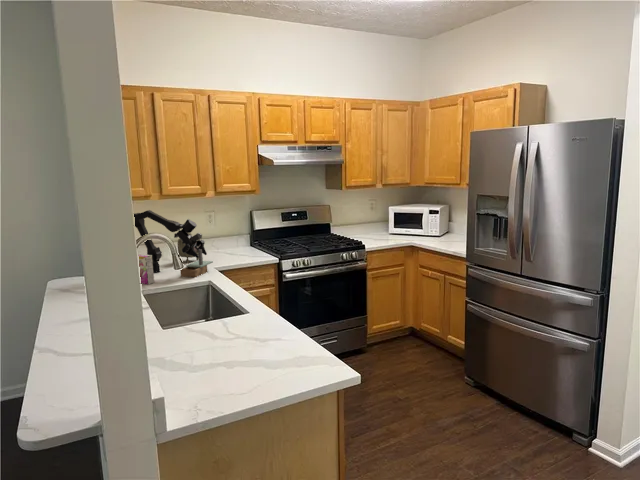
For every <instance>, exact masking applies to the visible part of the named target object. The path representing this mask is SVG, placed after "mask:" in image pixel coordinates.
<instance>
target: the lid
mask: <svg viewBox="0 0 640 480" xmlns="http://www.w3.org/2000/svg"><path fill="white" fill-rule="evenodd" d="M198 256H199V259H198V260H196V261H194V262H192V263H188V264H187V265H185V266H186V267H203V266H206V265H207V266H208V265H210V264H213V263H214V262H213V261H214V260H213V261H212V260H204V257H203V253H202V249H200V250H198Z"/></svg>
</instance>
